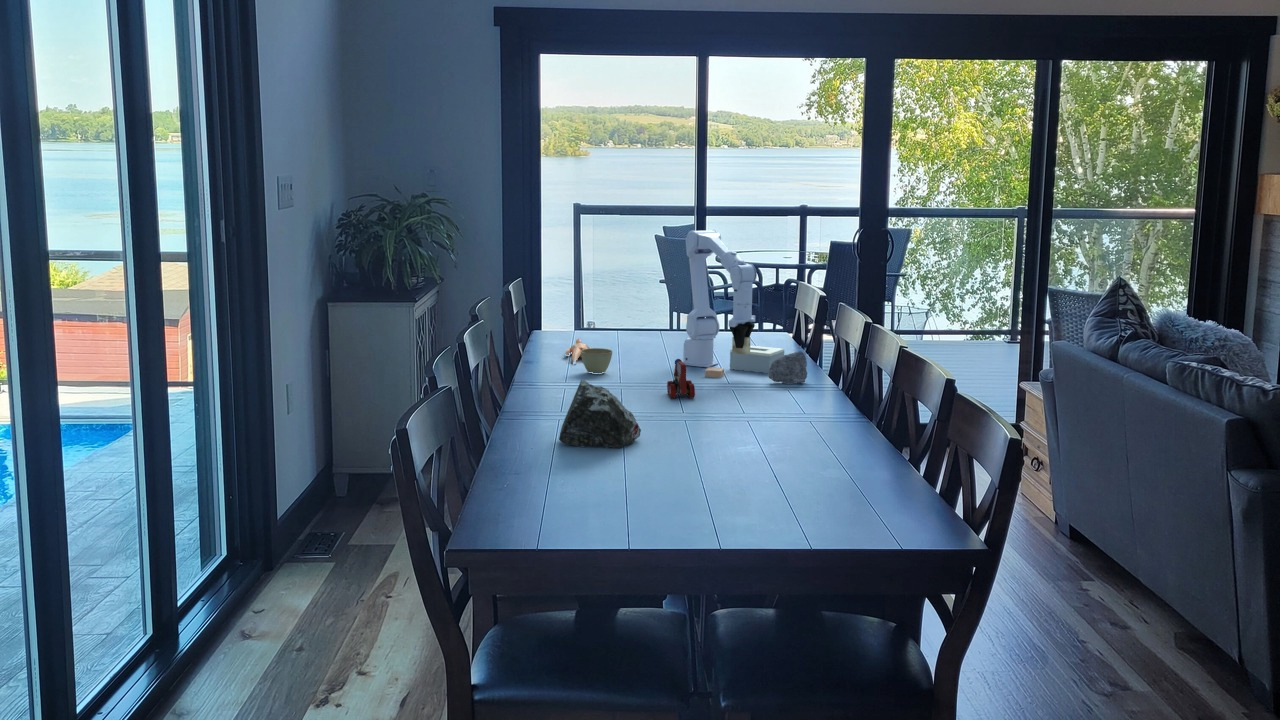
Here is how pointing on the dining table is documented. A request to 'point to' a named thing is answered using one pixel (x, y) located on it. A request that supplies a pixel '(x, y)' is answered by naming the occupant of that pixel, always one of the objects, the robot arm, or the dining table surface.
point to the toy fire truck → (680, 382)
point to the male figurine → (576, 349)
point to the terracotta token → (714, 372)
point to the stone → (598, 419)
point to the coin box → (755, 359)
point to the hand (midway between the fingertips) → (741, 347)
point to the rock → (789, 368)
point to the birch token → (745, 347)
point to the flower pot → (596, 359)
